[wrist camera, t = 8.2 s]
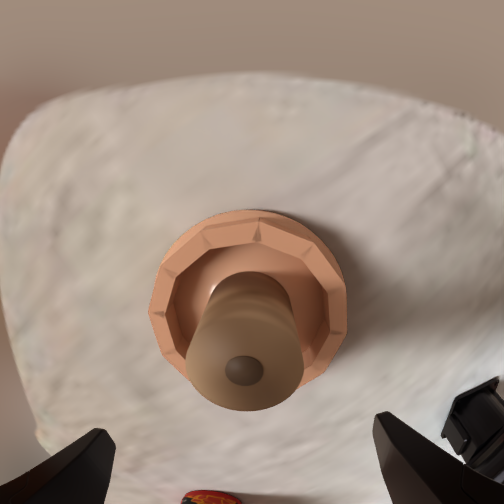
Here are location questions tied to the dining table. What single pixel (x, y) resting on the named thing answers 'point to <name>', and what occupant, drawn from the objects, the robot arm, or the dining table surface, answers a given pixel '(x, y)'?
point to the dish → (258, 260)
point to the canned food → (208, 498)
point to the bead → (246, 345)
